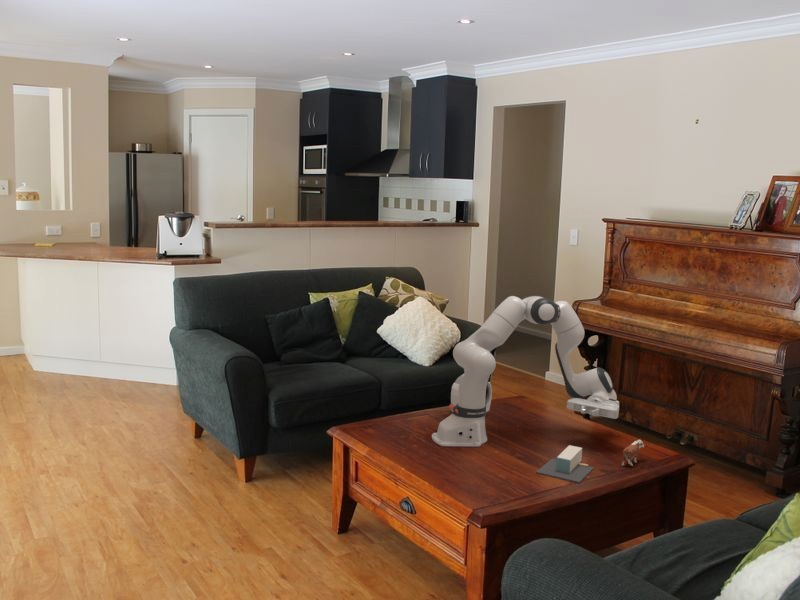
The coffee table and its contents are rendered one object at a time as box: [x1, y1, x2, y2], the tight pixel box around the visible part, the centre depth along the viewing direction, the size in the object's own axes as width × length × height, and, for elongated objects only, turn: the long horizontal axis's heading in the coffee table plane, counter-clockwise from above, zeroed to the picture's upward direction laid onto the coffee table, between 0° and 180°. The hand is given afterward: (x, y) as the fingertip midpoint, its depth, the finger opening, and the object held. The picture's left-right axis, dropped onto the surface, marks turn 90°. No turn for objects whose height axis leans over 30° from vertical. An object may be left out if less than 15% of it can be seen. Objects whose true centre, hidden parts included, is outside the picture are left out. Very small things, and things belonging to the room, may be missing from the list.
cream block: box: [555, 444, 583, 473], centre depth 285 cm, size 5×5×14 cm
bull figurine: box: [621, 439, 645, 467], centre depth 292 cm, size 4×13×8 cm, turn 137°
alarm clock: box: [450, 373, 493, 413], centre depth 342 cm, size 18×8×20 cm, turn 119°
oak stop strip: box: [578, 462, 589, 467], centre depth 289 cm, size 12×2×1 cm, turn 59°
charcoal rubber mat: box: [535, 458, 595, 484], centre depth 282 cm, size 16×17×1 cm
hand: (587, 412), depth 300 cm, fingers closed
